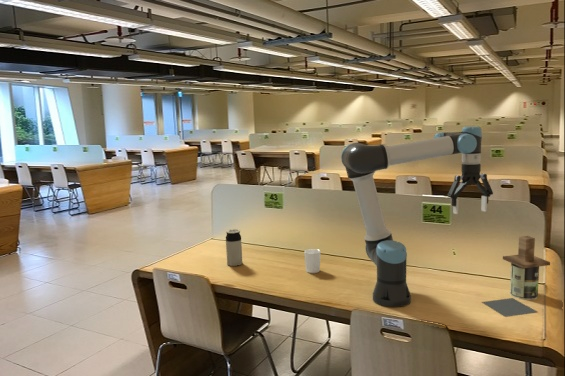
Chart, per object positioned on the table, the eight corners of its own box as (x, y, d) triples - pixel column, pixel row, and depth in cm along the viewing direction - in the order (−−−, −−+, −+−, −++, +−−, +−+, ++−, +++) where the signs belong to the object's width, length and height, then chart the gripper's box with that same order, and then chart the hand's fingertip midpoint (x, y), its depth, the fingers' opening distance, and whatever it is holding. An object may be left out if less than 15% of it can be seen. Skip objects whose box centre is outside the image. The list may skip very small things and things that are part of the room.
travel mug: (245, 262, 244) (243, 229, 241) (236, 267, 237) (234, 233, 234) (233, 260, 248) (231, 228, 245) (224, 265, 241) (222, 231, 239)
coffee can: (538, 293, 190) (540, 260, 188) (537, 302, 181) (538, 267, 179) (511, 289, 195) (512, 257, 193) (508, 297, 187) (509, 264, 185)
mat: (505, 317, 169) (505, 316, 169) (481, 303, 183) (481, 302, 183) (538, 313, 172) (538, 312, 172) (512, 298, 185) (512, 298, 185)
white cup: (302, 272, 225) (302, 253, 224) (307, 267, 232) (307, 248, 231) (318, 274, 222) (317, 254, 221) (323, 269, 229) (322, 249, 228)
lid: (523, 268, 179) (524, 242, 178) (502, 259, 191) (503, 235, 189) (550, 265, 182) (551, 239, 180) (528, 256, 193) (529, 232, 192)
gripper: (449, 165, 190) (448, 216, 193) (503, 162, 195) (501, 211, 198) (439, 164, 197) (438, 212, 201) (491, 160, 202) (490, 208, 206)
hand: (469, 212), depth 200 cm, fingers open, 13 cm apart
